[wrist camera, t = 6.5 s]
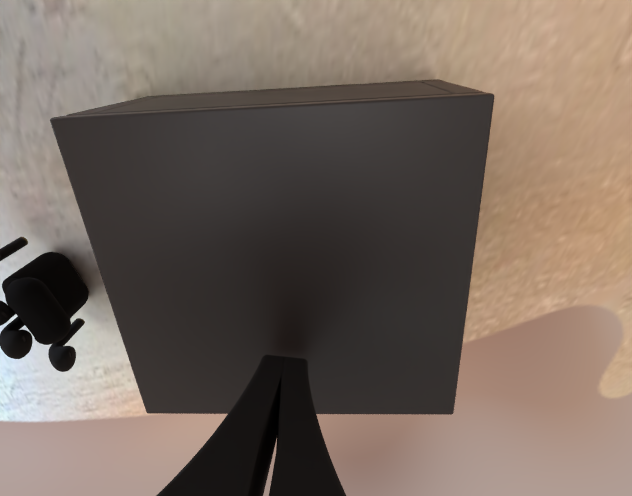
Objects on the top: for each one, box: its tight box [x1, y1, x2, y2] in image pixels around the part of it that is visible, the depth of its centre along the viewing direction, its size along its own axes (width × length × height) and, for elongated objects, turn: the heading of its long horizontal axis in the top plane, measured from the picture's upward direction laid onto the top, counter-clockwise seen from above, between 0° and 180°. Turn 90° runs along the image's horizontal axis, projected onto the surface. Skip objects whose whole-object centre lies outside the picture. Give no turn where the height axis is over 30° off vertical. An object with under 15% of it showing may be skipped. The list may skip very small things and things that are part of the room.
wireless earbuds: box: [0, 237, 89, 372], centre depth 17 cm, size 7×2×5 cm, turn 17°
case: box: [67, 80, 485, 116], centre depth 15 cm, size 10×12×5 cm
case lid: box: [50, 93, 494, 414], centre depth 12 cm, size 11×12×1 cm
